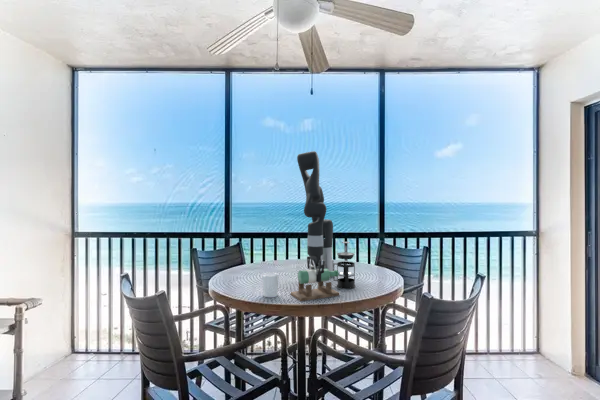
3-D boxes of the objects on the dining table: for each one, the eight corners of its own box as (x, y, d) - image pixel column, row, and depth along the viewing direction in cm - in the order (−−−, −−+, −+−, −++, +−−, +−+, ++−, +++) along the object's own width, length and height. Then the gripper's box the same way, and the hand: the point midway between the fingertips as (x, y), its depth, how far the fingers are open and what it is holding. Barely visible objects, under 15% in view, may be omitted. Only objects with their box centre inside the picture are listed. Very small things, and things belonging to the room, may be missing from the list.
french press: (355, 284, 174) (355, 240, 174) (357, 288, 165) (357, 243, 165) (333, 283, 175) (332, 240, 175) (334, 288, 166) (333, 243, 166)
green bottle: (333, 276, 163) (334, 265, 162) (339, 281, 158) (340, 269, 157) (297, 280, 155) (298, 268, 154) (302, 286, 150) (303, 273, 149)
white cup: (262, 293, 158) (262, 272, 158) (278, 292, 159) (278, 272, 159) (261, 298, 150) (261, 276, 150) (279, 297, 151) (278, 275, 151)
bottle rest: (327, 289, 164) (327, 277, 164) (339, 295, 154) (339, 282, 154) (290, 294, 156) (290, 281, 156) (300, 301, 146) (300, 287, 146)
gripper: (329, 246, 150) (330, 283, 150) (315, 242, 163) (315, 276, 163) (315, 247, 147) (315, 284, 147) (301, 243, 160) (301, 277, 160)
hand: (315, 280), depth 155 cm, fingers closed on green bottle, 6 cm apart
